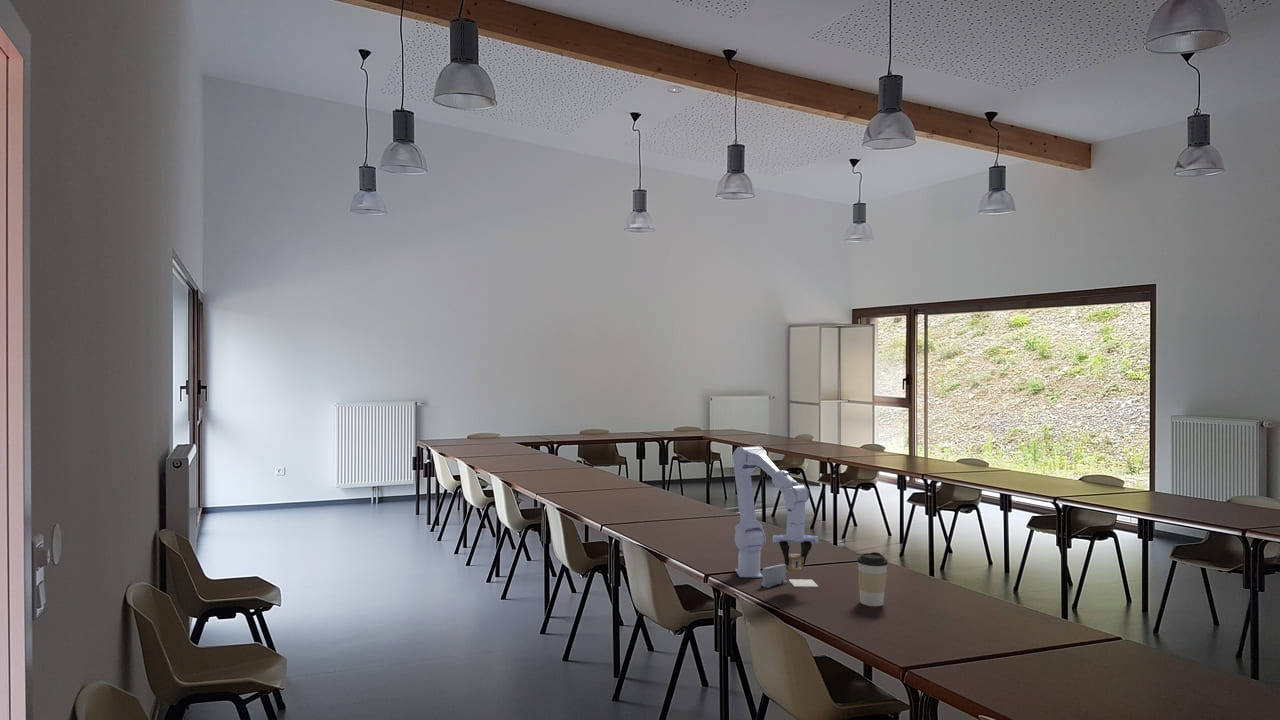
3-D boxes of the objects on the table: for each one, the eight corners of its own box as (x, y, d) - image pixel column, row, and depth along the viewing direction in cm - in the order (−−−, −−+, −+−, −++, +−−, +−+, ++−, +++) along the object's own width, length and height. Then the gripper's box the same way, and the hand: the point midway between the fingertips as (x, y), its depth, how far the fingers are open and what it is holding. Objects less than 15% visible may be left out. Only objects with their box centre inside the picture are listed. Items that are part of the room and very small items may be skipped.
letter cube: (785, 568, 272) (786, 553, 272) (799, 568, 272) (800, 553, 272) (789, 572, 267) (789, 556, 267) (803, 572, 267) (804, 556, 267)
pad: (788, 580, 282) (788, 579, 282) (811, 580, 282) (812, 579, 282) (794, 587, 274) (794, 585, 274) (818, 587, 274) (818, 586, 274)
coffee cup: (880, 609, 251) (881, 559, 251) (851, 603, 257) (852, 554, 257) (891, 602, 259) (892, 554, 259) (863, 596, 264) (864, 549, 264)
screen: (760, 585, 274) (760, 567, 274) (780, 581, 281) (781, 563, 281) (767, 588, 272) (767, 569, 272) (787, 583, 278) (788, 565, 278)
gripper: (776, 524, 265) (775, 567, 265) (821, 525, 266) (820, 568, 266) (771, 520, 272) (770, 562, 272) (815, 520, 273) (814, 562, 273)
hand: (794, 564), depth 270 cm, fingers closed on letter cube, 5 cm apart
